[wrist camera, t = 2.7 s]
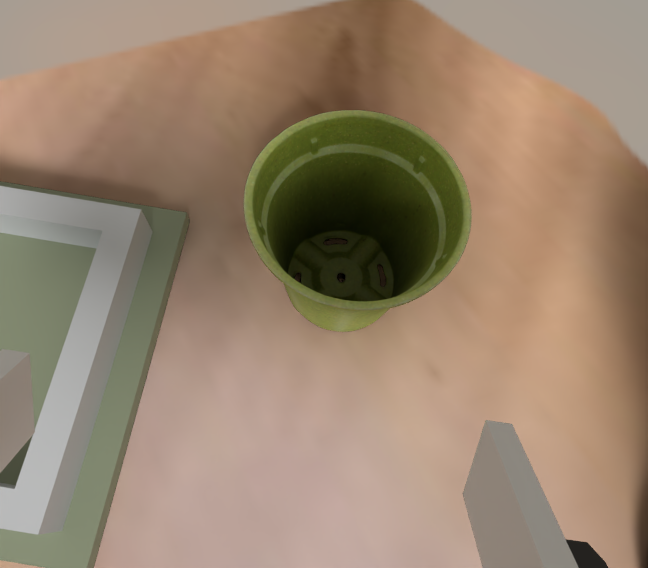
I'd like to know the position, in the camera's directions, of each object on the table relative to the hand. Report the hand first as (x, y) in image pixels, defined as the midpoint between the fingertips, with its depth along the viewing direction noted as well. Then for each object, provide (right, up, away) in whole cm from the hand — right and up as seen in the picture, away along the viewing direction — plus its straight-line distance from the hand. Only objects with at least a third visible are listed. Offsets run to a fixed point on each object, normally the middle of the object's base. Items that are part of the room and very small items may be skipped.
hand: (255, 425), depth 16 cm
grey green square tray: (-16, +1, +12) cm, 20 cm away
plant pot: (+3, +4, +15) cm, 16 cm away
